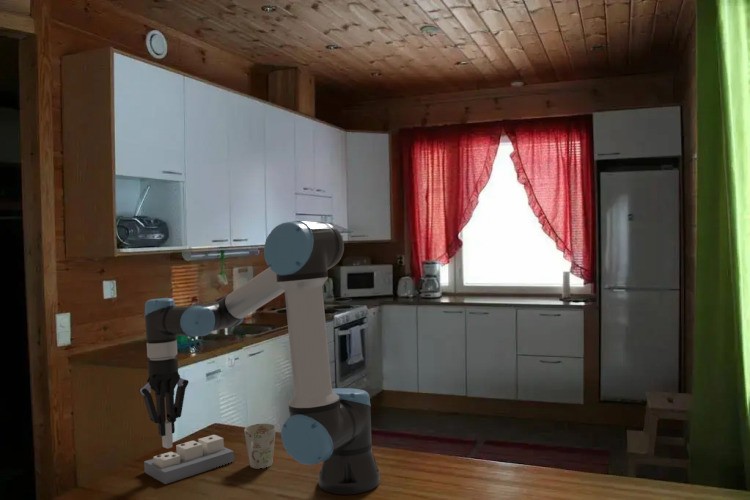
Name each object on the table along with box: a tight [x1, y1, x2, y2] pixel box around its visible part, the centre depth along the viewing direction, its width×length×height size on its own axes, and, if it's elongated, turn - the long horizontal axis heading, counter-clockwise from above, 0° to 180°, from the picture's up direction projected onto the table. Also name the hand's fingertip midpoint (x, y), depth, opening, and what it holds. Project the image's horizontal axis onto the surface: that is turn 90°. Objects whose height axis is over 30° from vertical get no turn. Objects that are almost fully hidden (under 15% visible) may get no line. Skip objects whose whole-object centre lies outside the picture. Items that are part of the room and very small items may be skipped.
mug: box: [243, 423, 276, 470], centre depth 163 cm, size 8×13×10 cm, turn 174°
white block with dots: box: [152, 451, 180, 469], centre depth 161 cm, size 5×5×4 cm
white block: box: [197, 434, 225, 455], centre depth 170 cm, size 5×5×4 cm
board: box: [143, 446, 235, 485], centre depth 165 cm, size 12×20×3 cm, turn 135°
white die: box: [175, 440, 203, 462], centre depth 165 cm, size 5×5×4 cm
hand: (167, 446), depth 160 cm, fingers closed
